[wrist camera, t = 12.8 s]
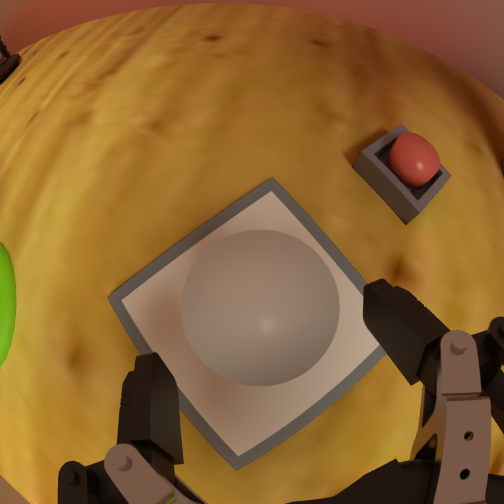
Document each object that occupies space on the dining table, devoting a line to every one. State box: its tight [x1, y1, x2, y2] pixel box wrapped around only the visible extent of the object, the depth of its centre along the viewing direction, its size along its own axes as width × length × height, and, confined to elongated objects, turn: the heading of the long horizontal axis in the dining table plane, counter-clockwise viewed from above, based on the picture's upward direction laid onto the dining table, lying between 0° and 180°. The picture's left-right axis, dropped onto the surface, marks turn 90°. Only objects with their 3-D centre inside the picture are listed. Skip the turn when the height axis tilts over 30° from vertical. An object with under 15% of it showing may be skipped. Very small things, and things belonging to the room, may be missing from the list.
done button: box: [386, 132, 440, 189], centre depth 20 cm, size 4×4×2 cm
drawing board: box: [107, 177, 386, 470], centre depth 18 cm, size 16×16×1 cm
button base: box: [353, 124, 451, 225], centre depth 21 cm, size 7×7×2 cm
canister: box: [181, 230, 340, 386], centre depth 13 cm, size 4×4×11 cm
